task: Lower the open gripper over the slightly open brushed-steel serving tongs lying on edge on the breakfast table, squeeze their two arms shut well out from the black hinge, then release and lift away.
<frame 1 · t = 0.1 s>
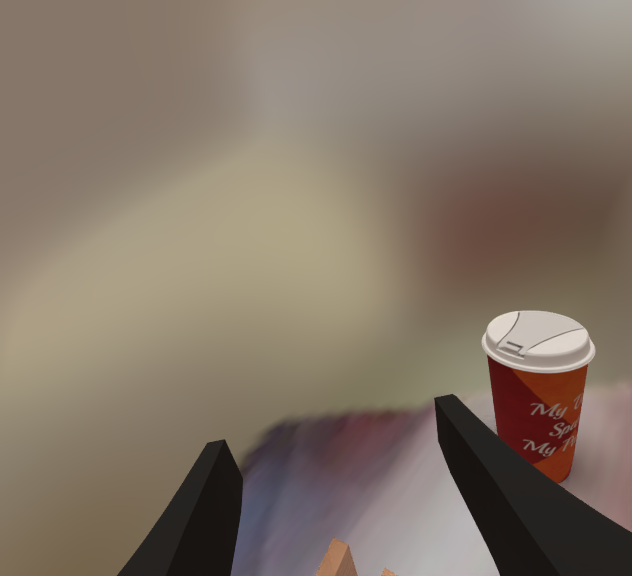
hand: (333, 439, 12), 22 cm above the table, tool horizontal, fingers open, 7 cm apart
paper cup: (534, 459, 32), on the table
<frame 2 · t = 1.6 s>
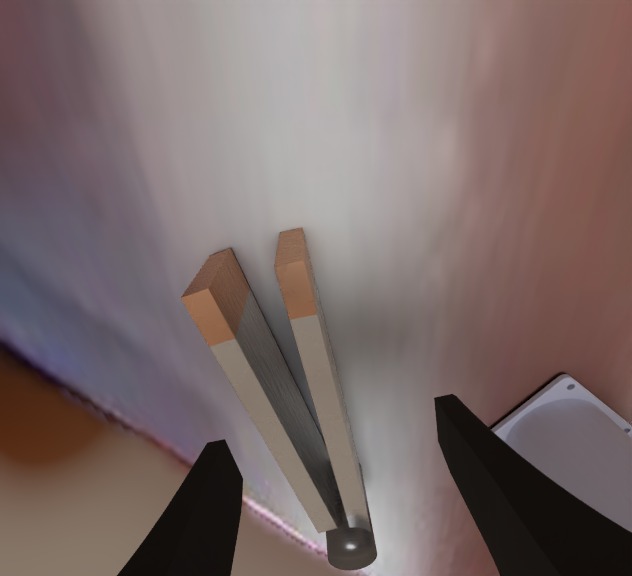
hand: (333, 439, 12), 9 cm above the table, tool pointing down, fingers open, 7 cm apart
tongs fixed arm: (341, 470, 26), on the table
tongs moving arm: (277, 399, 19), point 3 cm above the table, hinge at 7.0°
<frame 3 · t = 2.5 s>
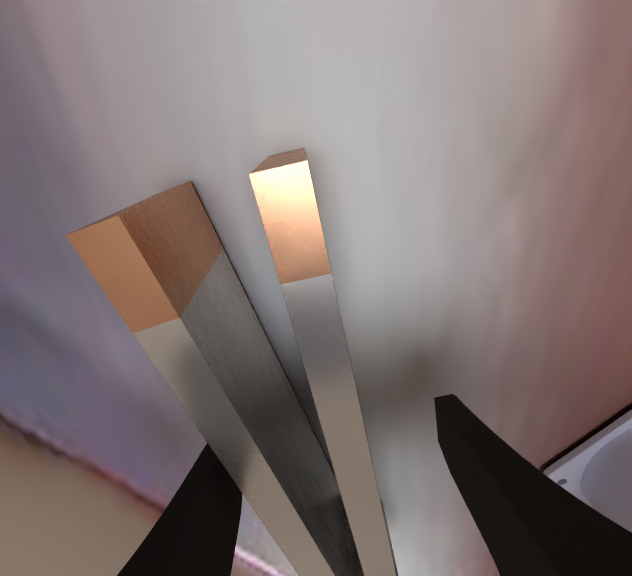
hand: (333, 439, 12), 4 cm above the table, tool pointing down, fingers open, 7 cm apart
tongs fixed arm: (356, 508, 19), on the table
tongs moving arm: (265, 420, 13), point 3 cm above the table, hinge at 7.0°
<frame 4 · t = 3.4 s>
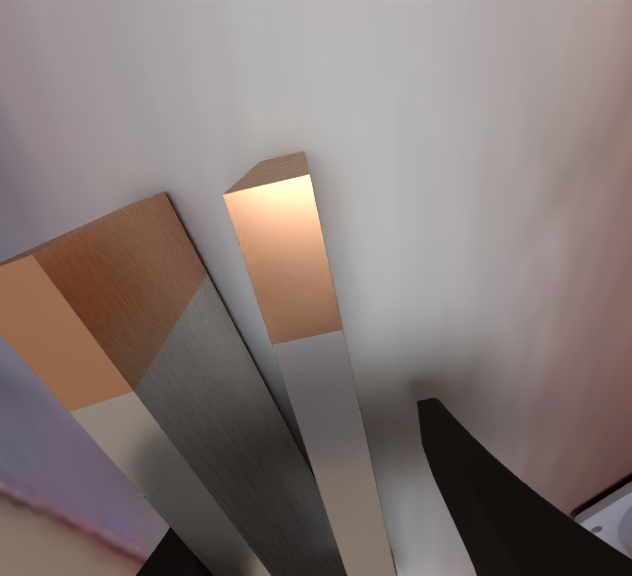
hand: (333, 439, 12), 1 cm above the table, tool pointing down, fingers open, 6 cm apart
tongs fixed arm: (362, 557, 17), on the table
tongs moving arm: (258, 482, 10), point 3 cm above the table, hinge at 6.7°, touching gripper
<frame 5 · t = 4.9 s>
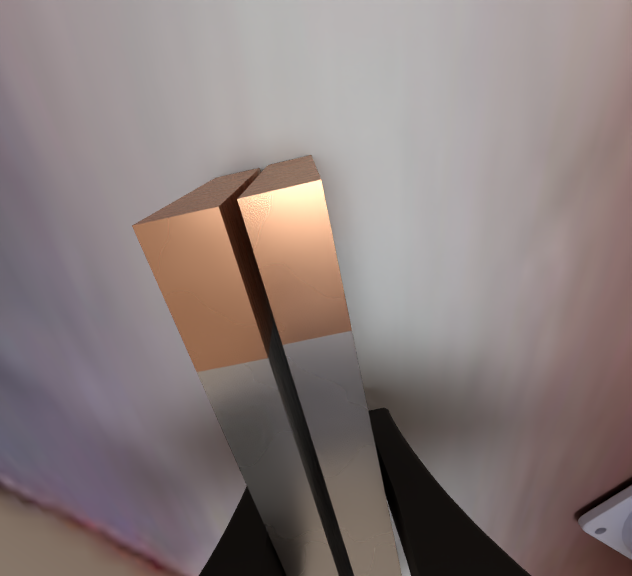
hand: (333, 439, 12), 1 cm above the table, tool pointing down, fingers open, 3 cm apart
tongs fixed arm: (366, 557, 17), on the table
tongs moving arm: (306, 469, 10), point 3 cm above the table, hinge at -0.6°, touching gripper
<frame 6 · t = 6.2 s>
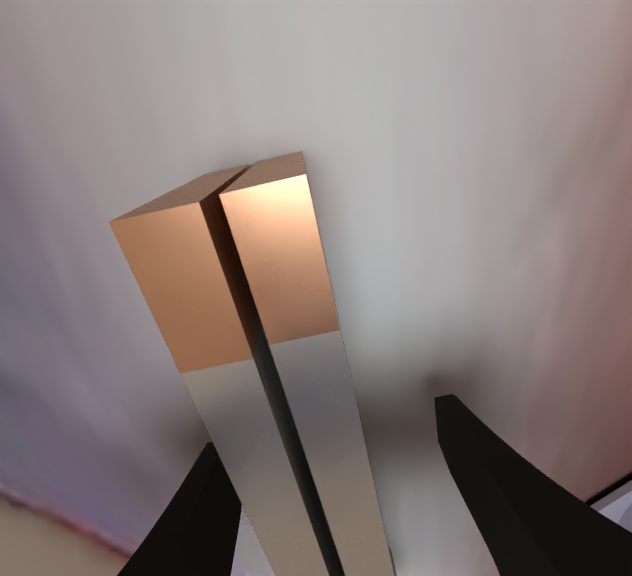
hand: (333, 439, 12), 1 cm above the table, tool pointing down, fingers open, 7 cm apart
tongs fixed arm: (361, 557, 17), on the table
tongs moving arm: (299, 470, 10), point 3 cm above the table, hinge at -0.6°
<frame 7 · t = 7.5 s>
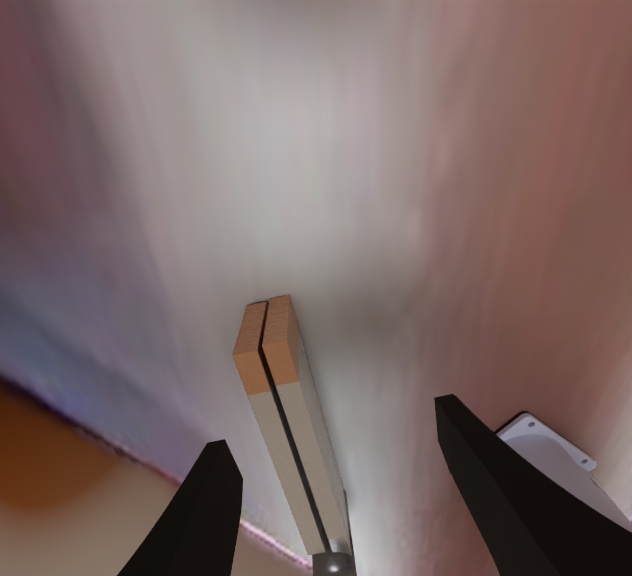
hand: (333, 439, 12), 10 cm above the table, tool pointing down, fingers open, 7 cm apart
tongs fixed arm: (328, 496, 29), on the table
tongs moving arm: (288, 435, 22), point 3 cm above the table, hinge at -0.6°
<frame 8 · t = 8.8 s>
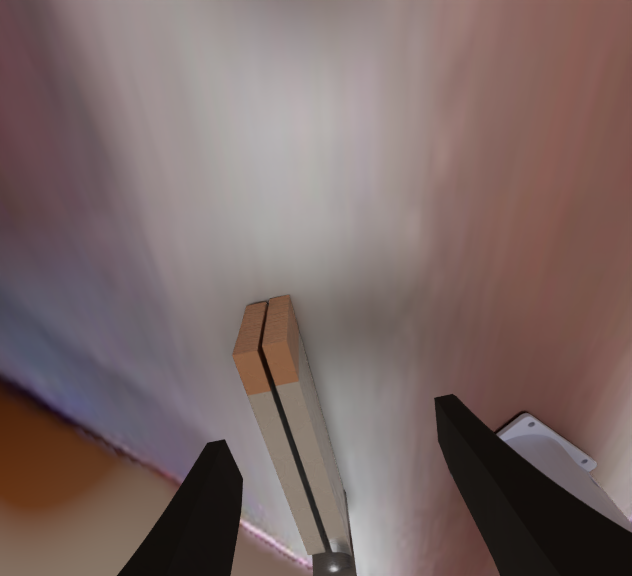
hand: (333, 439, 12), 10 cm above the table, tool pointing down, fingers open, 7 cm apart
tongs fixed arm: (328, 496, 29), on the table
tongs moving arm: (288, 435, 22), point 3 cm above the table, hinge at -0.6°
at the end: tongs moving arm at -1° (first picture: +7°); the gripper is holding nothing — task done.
